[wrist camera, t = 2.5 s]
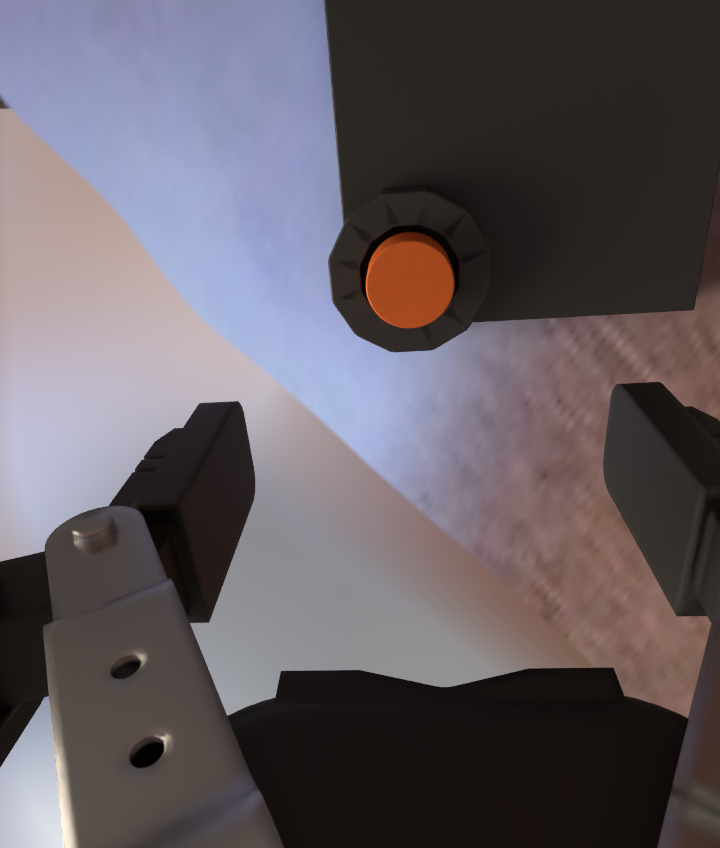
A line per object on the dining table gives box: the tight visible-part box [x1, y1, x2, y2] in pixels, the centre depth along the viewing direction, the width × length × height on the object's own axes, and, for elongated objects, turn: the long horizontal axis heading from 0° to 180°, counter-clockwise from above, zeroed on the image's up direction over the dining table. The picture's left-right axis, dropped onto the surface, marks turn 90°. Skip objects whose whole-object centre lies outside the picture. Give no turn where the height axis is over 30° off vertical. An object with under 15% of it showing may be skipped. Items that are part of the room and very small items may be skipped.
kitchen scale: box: [324, 0, 720, 352], centre depth 23 cm, size 14×13×3 cm
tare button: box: [366, 232, 455, 328], centre depth 23 cm, size 3×3×2 cm
